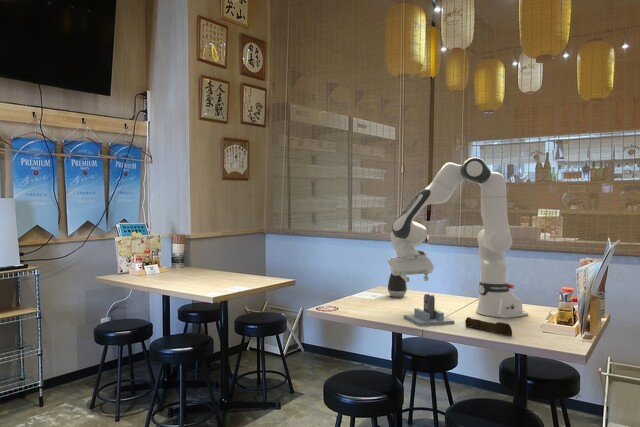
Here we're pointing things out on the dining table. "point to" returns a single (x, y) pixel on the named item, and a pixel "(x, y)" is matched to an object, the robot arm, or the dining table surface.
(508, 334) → the dark brown bar
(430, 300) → the end link
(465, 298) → the dining table surface
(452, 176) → the robot arm
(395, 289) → the black egg shape
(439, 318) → the keeper
